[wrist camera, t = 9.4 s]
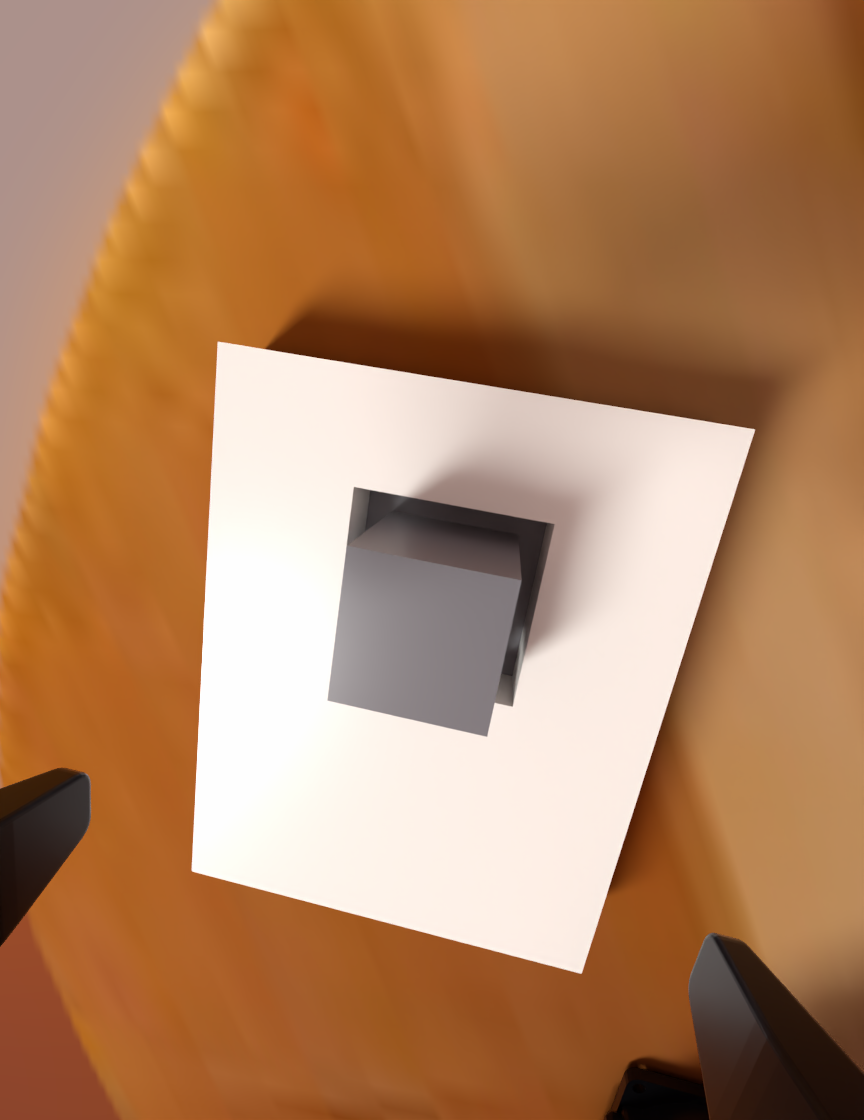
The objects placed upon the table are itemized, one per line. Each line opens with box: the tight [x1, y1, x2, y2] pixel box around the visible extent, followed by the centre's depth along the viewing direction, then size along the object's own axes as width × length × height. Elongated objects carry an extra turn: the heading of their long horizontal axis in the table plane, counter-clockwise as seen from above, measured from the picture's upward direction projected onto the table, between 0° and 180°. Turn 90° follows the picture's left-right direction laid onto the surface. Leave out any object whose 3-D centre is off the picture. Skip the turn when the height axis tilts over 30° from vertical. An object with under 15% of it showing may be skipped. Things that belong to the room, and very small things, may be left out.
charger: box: [327, 511, 522, 737], centre depth 15 cm, size 4×4×5 cm
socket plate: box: [192, 342, 755, 974], centre depth 17 cm, size 14×18×2 cm
